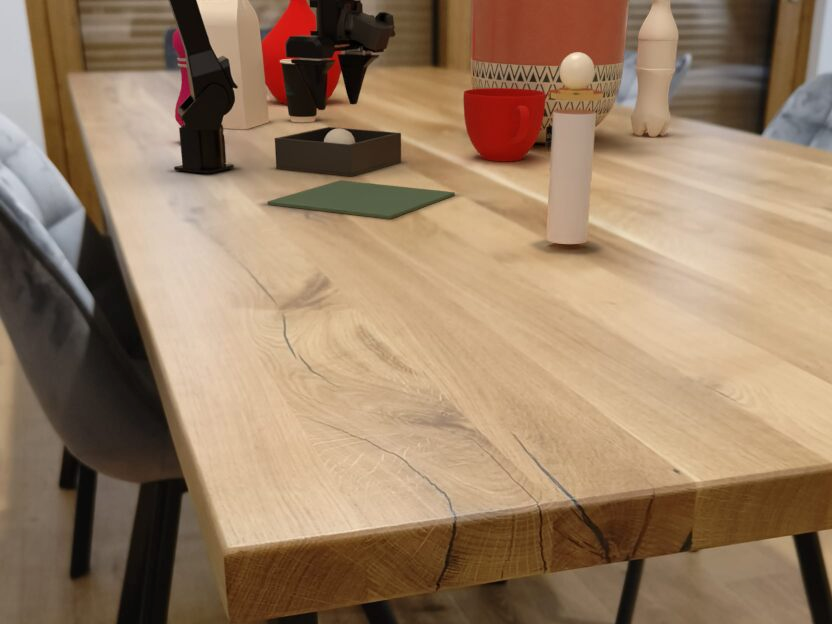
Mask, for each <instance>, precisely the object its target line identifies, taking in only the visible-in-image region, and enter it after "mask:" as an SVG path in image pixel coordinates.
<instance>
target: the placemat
mask: <svg viewBox="0 0 832 624" xmlns="http://www.w3.org/2000/svg"><path fill="white" fill-rule="evenodd" d="M455 193H456V192H454V191H448V190H447V191H446V190H435V189H426V188H417V187H407V186H398V185H389V184H379V183H372V182H371V183H370V182H361V181H360V182H359V181H351V180H341V179H340V180H337V181H333V182H330V183H326V184H323V185H319V186H316V187H313V188H309V189H306V190H302V191H299V192H296V193H295V192H294V193H292V194H289V195H288V194H287V195H285V196H282V197H278V198H275V199H271V200H267V205H269V206H278V207H286V208H294V209H303V210H310V211H317V212H318V211H319V212H327V213H335V214H343V215H345V214H346V215H353V216H361V217H371V218H378V219H384V220H385V219H387V220H391V219H394V218H397V217H400V216H402V215H403V216H404V215H405V214H408V213H411V212H413V211H416V210H420V209H421V208H424V207H426V206H430V205H432V204H435V203H438V202H441V201H443V200H446V199H448V198H451V197H454V196H455V195H456V194H455Z"/></svg>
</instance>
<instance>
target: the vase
mask: <svg viewBox="0 0 832 624" xmlns="http://www.w3.org/2000/svg"><path fill="white" fill-rule="evenodd" d="M315 30H316V13H314V11H313V10H312V8H311V7H310V4H309V3H308V1H307V0H289V3H288V6H287V8H286V9H285V11H284V12H283V13H282V15H281V16H280V17H279V19H278V20H277V22H276V23H275V25H274V26H273V28H271V30H270V31H269V32H268V33H267V35H266V36H265V37H264V38H263V39H262V40H261V46H262V56H263V66H264V75H265V85H266V88H267V89H268V90H269V92H270V94H271V95H272V96H273V97H274V98H275V99H276V101H277V102H279V103H280V104H283V105H287V99H286V92H285V86H284V79H283V72H282V65H281V63H280V60H284V59H298V58H293V57H286V53H285V42H286V41H287V40H288V38H289V37H290V36H298V35H311V31H315ZM338 54H343V51H335V52H334V55H333V57H332V58H328V59H329V60H336V61H335V63H334V64H333V66H332V67H331V68H330V70H329V71H328V78H327V97H326V102H327V101H328V100H329V99H330V98H331V97H332V95H333V93H334V92H335V90H336V88H337V86H338V84H339V81H340V77H341V75H342V71H341V68H340V63H339V59H338Z"/></svg>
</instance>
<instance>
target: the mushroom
mask: <svg viewBox="0 0 832 624" xmlns="http://www.w3.org/2000/svg"><path fill="white" fill-rule="evenodd" d="M336 128H337V129H333V130H331V131H330V132H329V133H328V134H327V135H326V137H325V139H324V142H328V143H339V144H353V143H355V139H354V137H353V135H352V134H351V133H350V132H349V131H347V130H345V129H341V128H342V127H336Z"/></svg>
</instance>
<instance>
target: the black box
mask: <svg viewBox="0 0 832 624" xmlns="http://www.w3.org/2000/svg"><path fill="white" fill-rule="evenodd" d="M337 128H338V127H334V126H327V127H322V128H317V129H312V130H308V131H303V132H298V133H293V134H288V135H284V136H279V137H275V138H274V152H275V155H274V156H275V169H276V170H285V171H294V172H303V173H313V174H314V173H315V174H321V175H323V174H324V175H331V176H332V175H333V176H343V177H355V176H358V175H362V174H366V173H369V172H372V171H376V170H378V169H382V168H386V167H389V166H393V165H396V164H400V163H402V133H401V132H394V131H384V130H383V131H382V130H370V129H360V128H359V129H358V128H348V127H347V128H346V127H340V128H341V129H345V130H347V131H349V132H350V133H351V134H352V135H353V137H354V139H355V143H353V144H339V143H328V142H324V139H325V137H326V135H327V134H328V133H329V132H330V131H331V130H333V129H337Z"/></svg>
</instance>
